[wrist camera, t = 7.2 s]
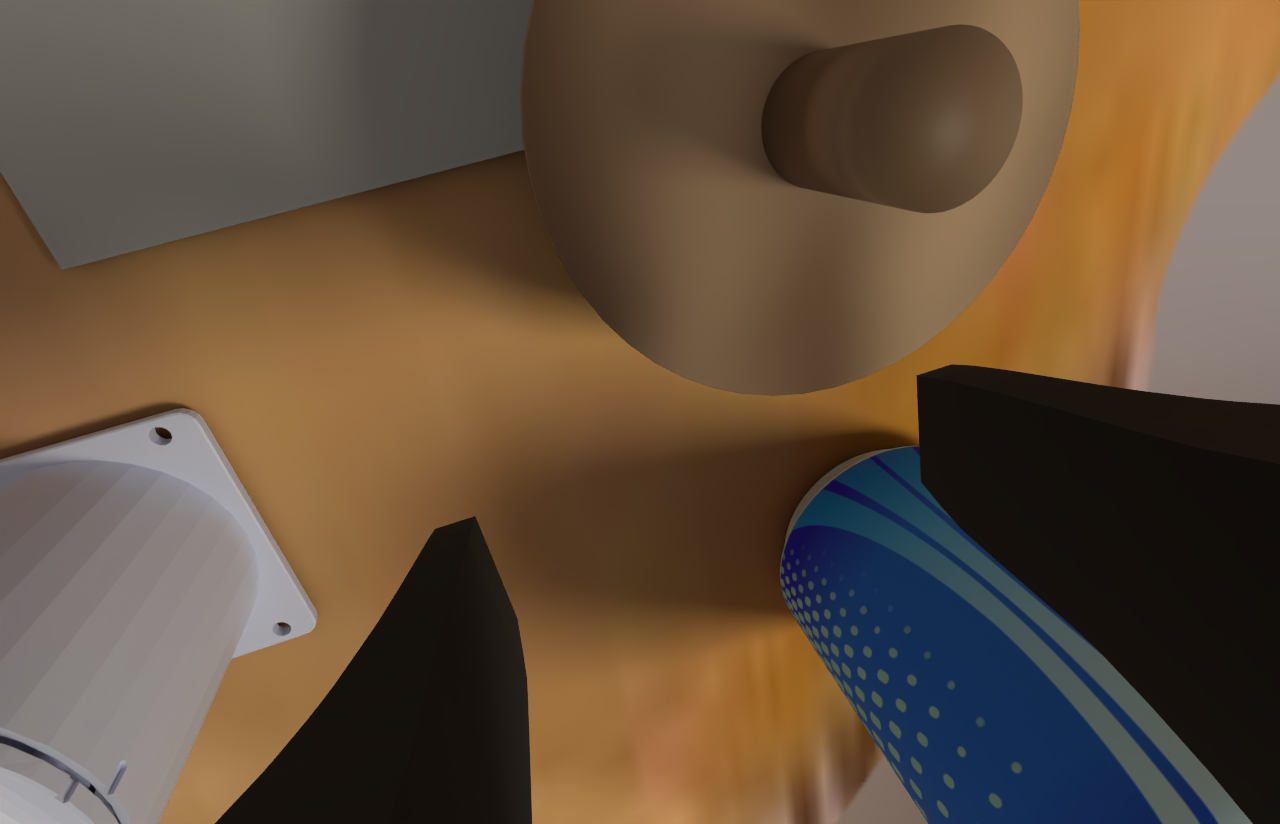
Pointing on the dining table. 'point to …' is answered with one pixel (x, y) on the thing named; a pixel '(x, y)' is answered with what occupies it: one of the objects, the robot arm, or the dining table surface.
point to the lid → (790, 170)
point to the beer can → (974, 668)
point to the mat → (241, 108)
